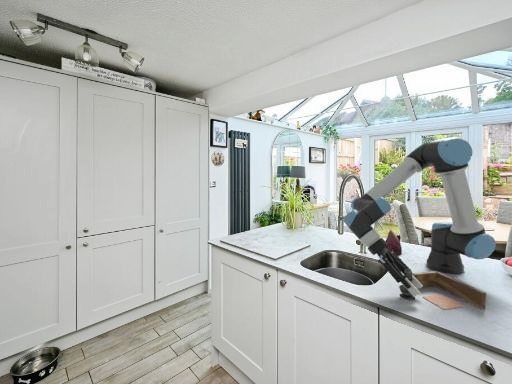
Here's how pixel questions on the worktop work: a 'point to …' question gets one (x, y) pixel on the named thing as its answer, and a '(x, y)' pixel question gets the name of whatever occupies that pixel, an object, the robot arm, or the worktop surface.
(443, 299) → the tile
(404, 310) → the worktop surface
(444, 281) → the wooden corner wall
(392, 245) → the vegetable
